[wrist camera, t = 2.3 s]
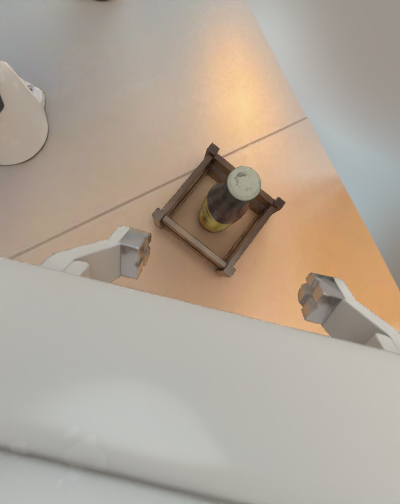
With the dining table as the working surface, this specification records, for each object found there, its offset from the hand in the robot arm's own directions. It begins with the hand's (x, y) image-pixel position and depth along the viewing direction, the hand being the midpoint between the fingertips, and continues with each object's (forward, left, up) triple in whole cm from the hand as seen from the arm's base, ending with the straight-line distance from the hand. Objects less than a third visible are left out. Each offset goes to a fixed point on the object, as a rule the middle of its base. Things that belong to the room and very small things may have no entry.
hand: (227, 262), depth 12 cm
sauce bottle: (-2, +11, -33) cm, 35 cm away
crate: (-2, +11, -33) cm, 34 cm away
